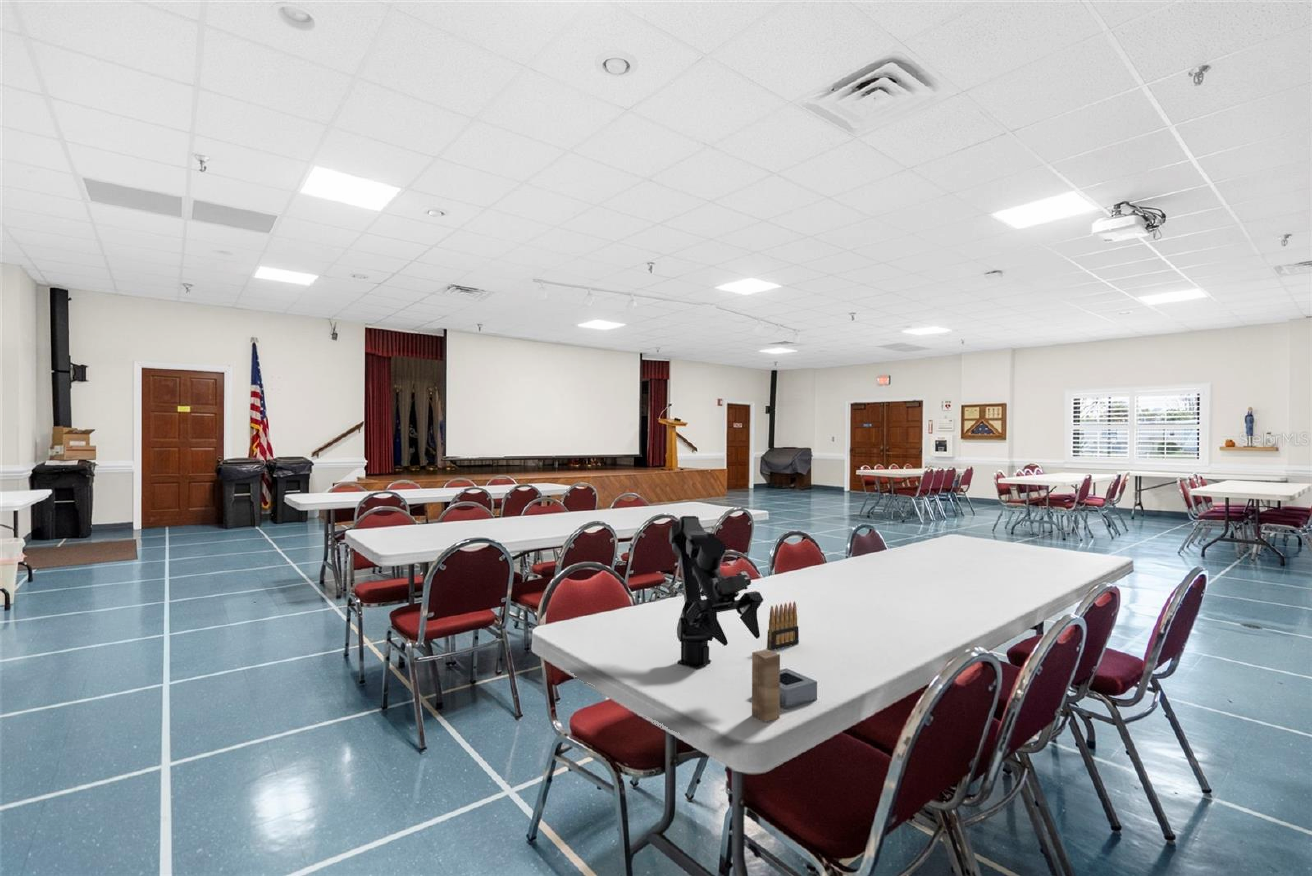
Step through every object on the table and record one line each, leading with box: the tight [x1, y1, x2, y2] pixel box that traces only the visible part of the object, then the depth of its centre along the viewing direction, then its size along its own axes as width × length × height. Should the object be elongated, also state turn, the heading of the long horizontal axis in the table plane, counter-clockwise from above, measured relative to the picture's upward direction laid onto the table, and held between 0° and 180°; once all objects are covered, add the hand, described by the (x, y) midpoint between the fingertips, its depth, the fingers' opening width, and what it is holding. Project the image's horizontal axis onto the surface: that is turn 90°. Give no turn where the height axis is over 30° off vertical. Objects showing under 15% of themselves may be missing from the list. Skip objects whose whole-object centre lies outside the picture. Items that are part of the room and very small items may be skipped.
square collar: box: [780, 668, 818, 710], centre depth 138 cm, size 9×9×4 cm
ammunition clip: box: [766, 601, 800, 651], centre depth 173 cm, size 11×2×12 cm, turn 124°
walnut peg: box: [751, 648, 781, 723], centre depth 127 cm, size 4×4×13 cm
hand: (742, 641), depth 134 cm, fingers open, 9 cm apart
